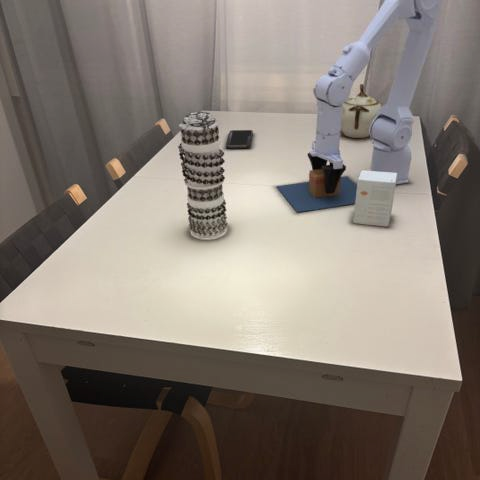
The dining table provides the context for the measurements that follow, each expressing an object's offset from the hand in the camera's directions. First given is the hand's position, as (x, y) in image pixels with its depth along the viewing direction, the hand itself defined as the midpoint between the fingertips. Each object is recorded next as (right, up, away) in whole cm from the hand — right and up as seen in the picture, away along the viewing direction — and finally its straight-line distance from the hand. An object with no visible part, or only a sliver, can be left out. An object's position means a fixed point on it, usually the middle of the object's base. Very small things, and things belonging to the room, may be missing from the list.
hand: (324, 186), depth 119 cm
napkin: (0, -1, +1) cm, 2 cm away
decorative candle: (-28, -13, -12) cm, 34 cm away
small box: (+9, -11, -11) cm, 18 cm away
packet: (0, -1, +1) cm, 2 cm away
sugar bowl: (+17, +27, +36) cm, 49 cm away
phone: (-21, +25, +35) cm, 48 cm away
